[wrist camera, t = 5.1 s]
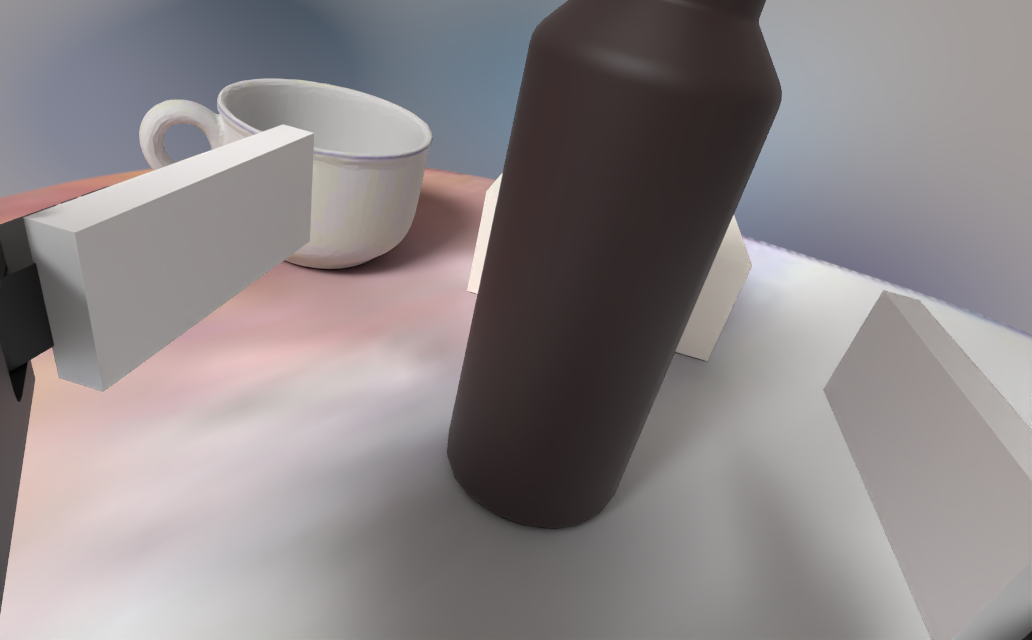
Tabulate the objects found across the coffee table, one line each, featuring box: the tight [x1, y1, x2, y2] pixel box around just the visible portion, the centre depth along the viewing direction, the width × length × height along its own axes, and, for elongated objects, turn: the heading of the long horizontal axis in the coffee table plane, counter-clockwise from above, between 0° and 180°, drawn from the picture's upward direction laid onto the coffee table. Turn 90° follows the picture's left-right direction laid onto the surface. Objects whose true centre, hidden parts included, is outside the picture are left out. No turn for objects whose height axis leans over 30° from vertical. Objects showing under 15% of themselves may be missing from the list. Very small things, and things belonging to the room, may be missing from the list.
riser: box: [467, 173, 752, 361], centre depth 38 cm, size 14×14×6 cm
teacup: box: [139, 79, 432, 269], centre depth 32 cm, size 14×11×8 cm
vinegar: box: [447, 0, 782, 528], centre depth 18 cm, size 7×7×20 cm
